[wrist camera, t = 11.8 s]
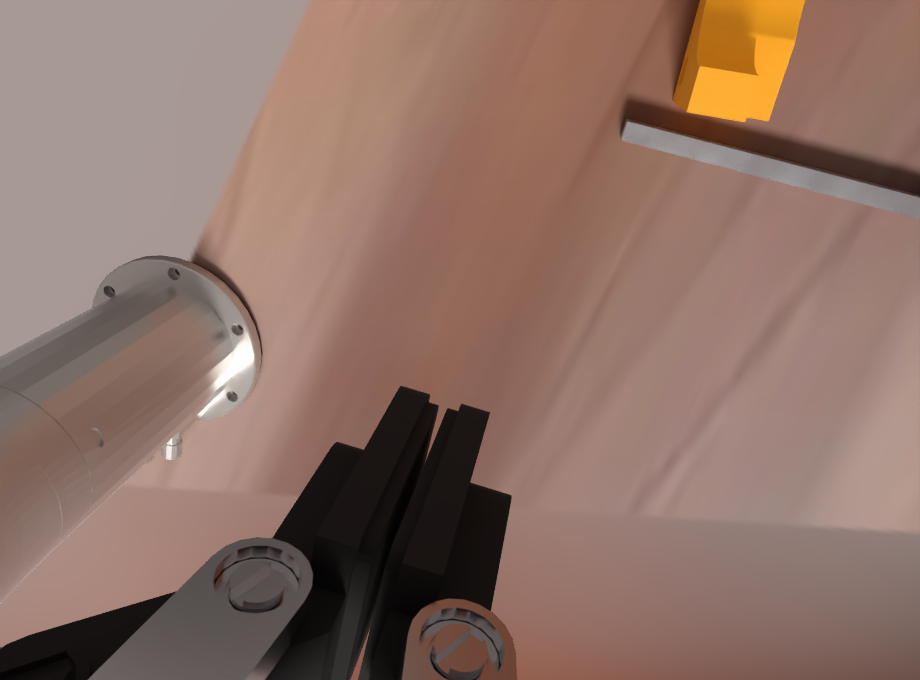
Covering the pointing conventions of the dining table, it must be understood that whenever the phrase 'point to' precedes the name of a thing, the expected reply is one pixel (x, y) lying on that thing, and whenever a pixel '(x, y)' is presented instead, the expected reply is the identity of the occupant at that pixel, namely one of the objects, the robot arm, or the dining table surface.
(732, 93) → the pipe clamp
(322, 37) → the dining table surface
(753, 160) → the hinge bracket
